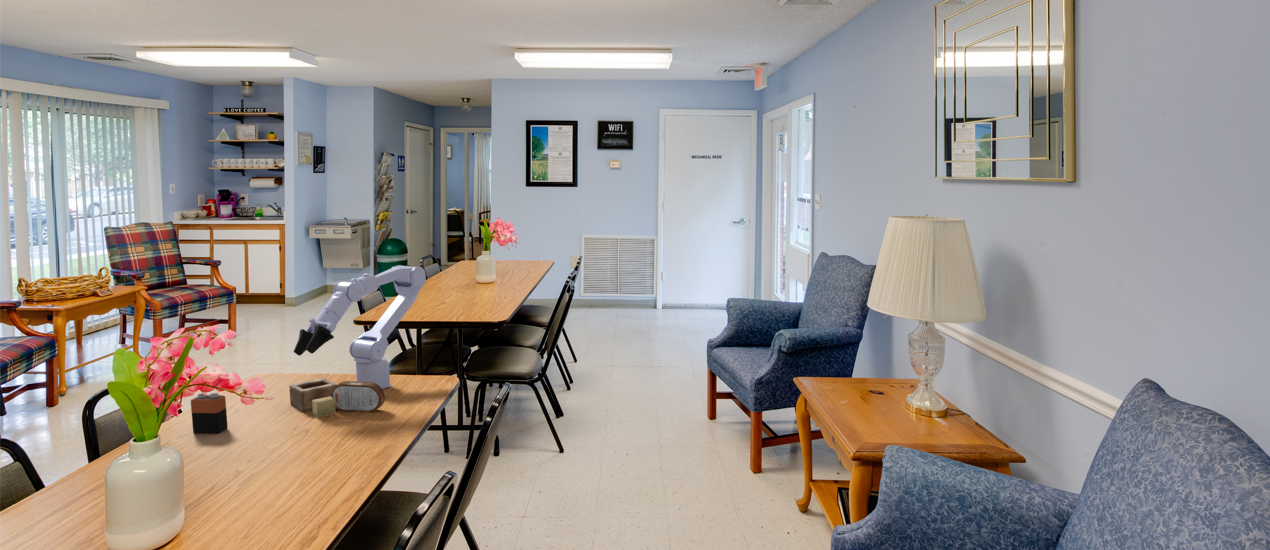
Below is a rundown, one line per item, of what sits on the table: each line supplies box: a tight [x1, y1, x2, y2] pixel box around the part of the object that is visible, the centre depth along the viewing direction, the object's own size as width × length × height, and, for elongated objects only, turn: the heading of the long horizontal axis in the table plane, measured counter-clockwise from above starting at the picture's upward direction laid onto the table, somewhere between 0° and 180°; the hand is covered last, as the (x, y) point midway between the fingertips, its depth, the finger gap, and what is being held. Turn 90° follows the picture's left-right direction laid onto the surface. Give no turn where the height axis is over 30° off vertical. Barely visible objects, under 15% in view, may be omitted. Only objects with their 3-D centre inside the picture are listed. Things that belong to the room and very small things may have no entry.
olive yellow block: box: [312, 396, 337, 419], centre depth 192 cm, size 5×3×4 cm, turn 136°
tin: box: [331, 380, 386, 412], centre depth 195 cm, size 15×3×8 cm, turn 84°
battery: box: [190, 392, 228, 435], centre depth 178 cm, size 4×7×10 cm, turn 88°
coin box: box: [288, 377, 338, 413], centre depth 200 cm, size 10×9×6 cm
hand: (302, 352), depth 194 cm, fingers open, 7 cm apart
